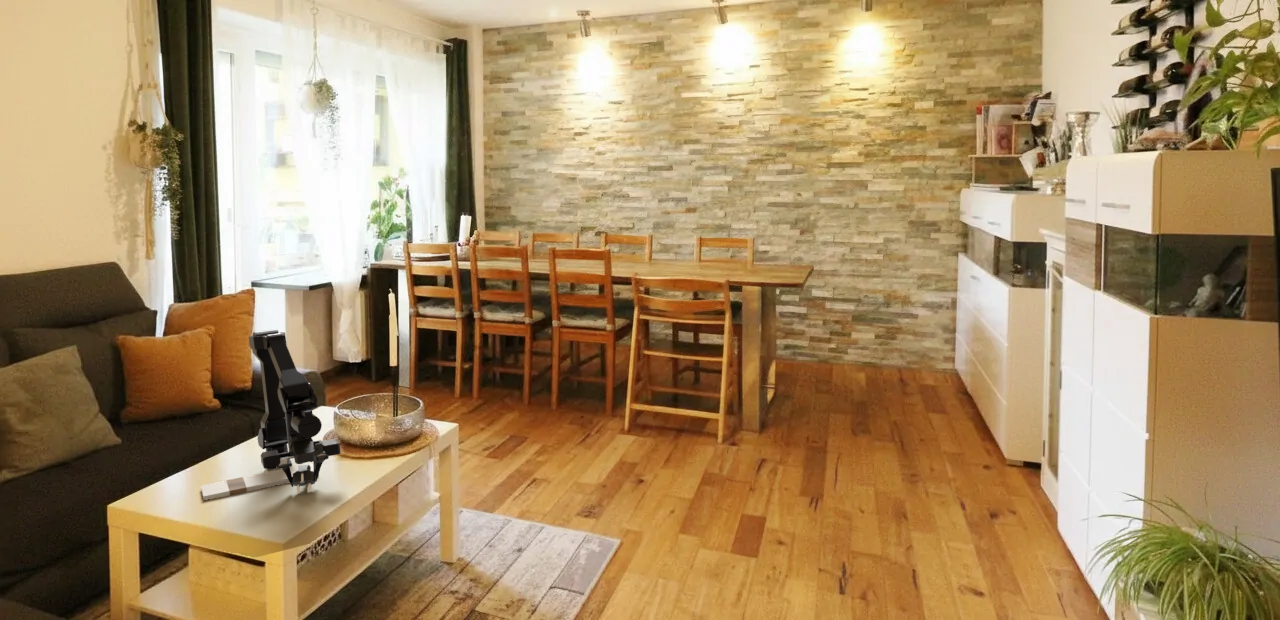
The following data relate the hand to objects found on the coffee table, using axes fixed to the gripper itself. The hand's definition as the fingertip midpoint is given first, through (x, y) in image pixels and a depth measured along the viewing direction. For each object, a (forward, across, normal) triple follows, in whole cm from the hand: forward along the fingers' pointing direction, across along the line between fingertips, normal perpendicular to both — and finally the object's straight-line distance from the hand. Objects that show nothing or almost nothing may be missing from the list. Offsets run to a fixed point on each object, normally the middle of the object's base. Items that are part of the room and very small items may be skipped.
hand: (304, 483), depth 204 cm
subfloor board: (+2, -9, +12) cm, 15 cm away
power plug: (+2, +1, +2) cm, 2 cm away
